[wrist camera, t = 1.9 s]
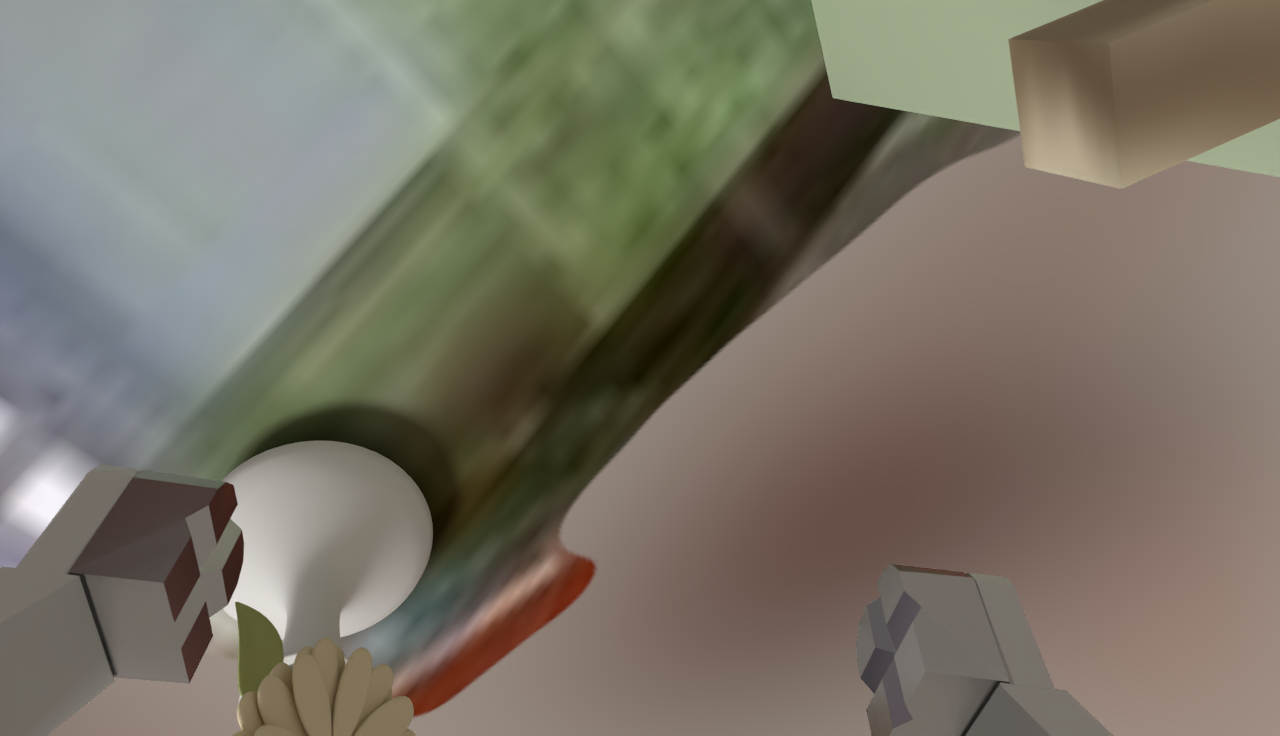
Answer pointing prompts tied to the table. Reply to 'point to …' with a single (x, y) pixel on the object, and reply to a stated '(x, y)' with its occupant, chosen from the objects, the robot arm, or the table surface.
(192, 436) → the table surface
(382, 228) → the table surface
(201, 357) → the table surface
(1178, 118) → the block
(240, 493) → the flower in vase
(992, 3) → the pedestal
